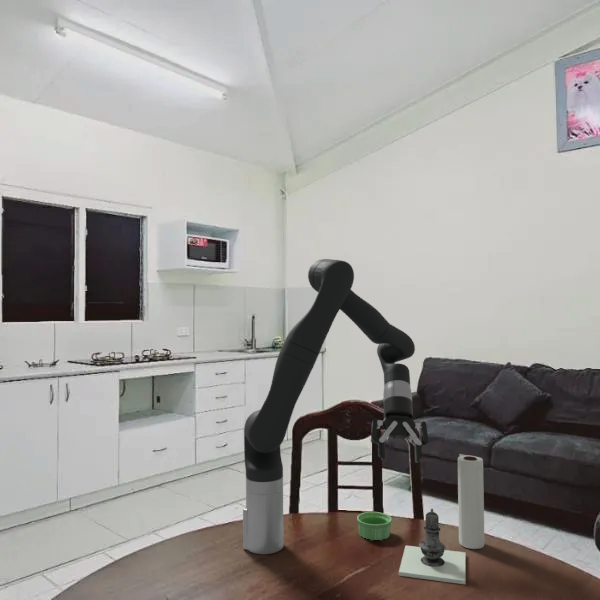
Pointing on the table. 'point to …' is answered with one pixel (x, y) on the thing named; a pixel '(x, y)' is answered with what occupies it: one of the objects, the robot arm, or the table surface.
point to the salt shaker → (432, 542)
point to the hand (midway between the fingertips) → (400, 460)
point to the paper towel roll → (471, 501)
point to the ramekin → (374, 525)
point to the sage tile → (446, 573)
